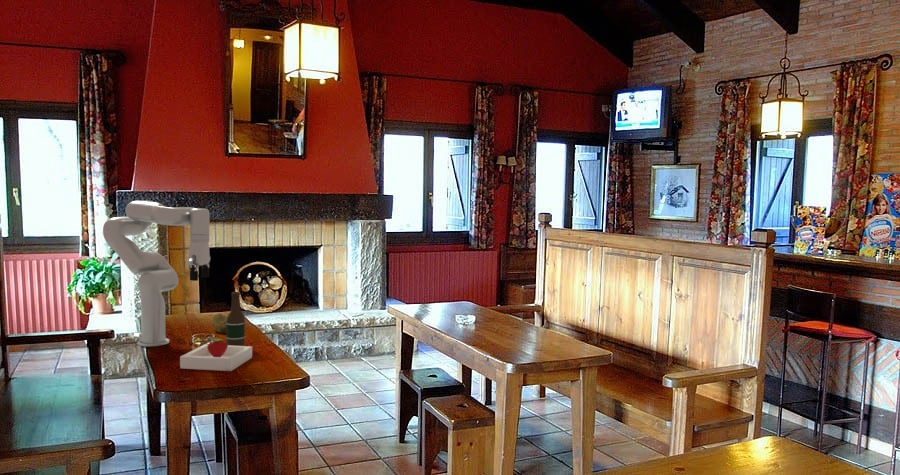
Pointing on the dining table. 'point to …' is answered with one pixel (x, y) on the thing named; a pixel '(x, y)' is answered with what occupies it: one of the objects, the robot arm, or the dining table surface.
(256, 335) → the dining table surface
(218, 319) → the potato
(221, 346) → the strawberry
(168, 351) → the dining table surface
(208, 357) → the tray
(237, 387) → the dining table surface
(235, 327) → the beer bottle
